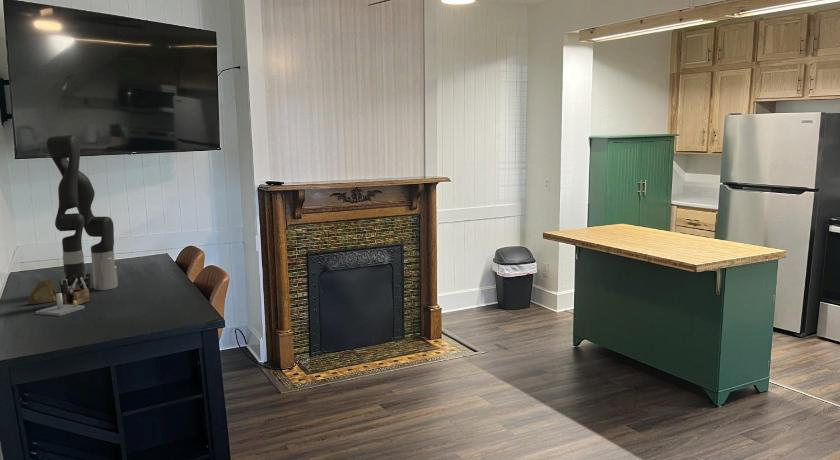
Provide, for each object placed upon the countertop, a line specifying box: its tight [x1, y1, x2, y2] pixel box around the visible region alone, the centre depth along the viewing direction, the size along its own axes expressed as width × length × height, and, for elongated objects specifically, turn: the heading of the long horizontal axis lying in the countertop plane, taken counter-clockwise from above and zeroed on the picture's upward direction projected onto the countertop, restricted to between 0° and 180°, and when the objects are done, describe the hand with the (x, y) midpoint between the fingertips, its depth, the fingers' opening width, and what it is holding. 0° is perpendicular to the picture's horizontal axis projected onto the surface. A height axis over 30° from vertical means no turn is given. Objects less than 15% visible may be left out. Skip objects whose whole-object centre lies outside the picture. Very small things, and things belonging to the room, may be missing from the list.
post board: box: [35, 292, 85, 317], centre depth 248 cm, size 12×12×7 cm
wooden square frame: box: [63, 288, 90, 305], centre depth 261 cm, size 6×6×5 cm
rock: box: [27, 279, 58, 305], centre depth 264 cm, size 11×9×10 cm
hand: (77, 300), depth 261 cm, fingers closed on wooden square frame, 6 cm apart
